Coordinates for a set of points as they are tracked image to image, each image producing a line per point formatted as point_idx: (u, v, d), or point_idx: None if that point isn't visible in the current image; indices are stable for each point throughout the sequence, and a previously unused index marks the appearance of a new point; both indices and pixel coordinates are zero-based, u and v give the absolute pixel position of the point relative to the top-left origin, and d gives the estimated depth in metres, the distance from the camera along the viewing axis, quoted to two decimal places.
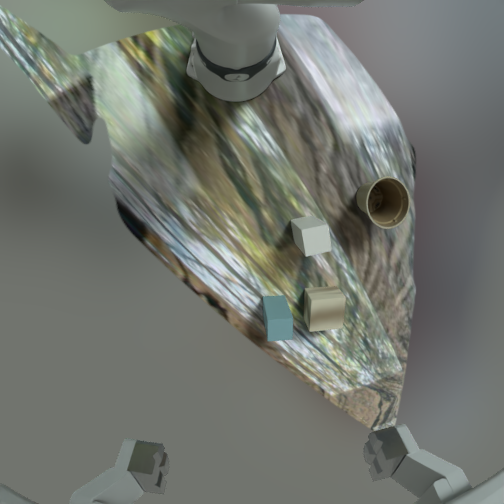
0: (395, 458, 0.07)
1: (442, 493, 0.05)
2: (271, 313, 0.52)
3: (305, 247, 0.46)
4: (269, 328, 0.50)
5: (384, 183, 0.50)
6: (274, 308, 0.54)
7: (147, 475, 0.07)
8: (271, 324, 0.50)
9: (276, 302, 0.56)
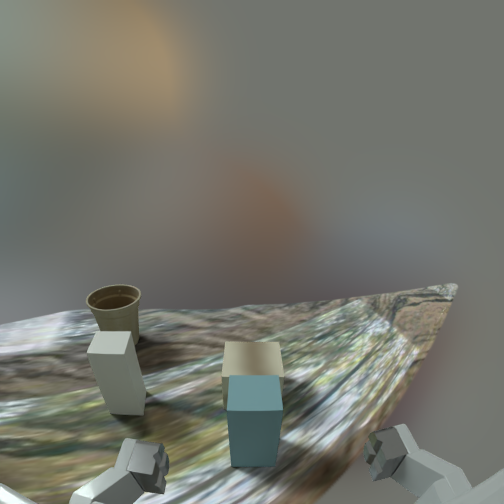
0: (395, 458, 0.07)
1: (442, 493, 0.05)
2: None
3: (111, 353, 0.26)
4: (249, 408, 0.21)
5: None
6: None
7: (147, 475, 0.07)
8: (238, 405, 0.21)
9: None
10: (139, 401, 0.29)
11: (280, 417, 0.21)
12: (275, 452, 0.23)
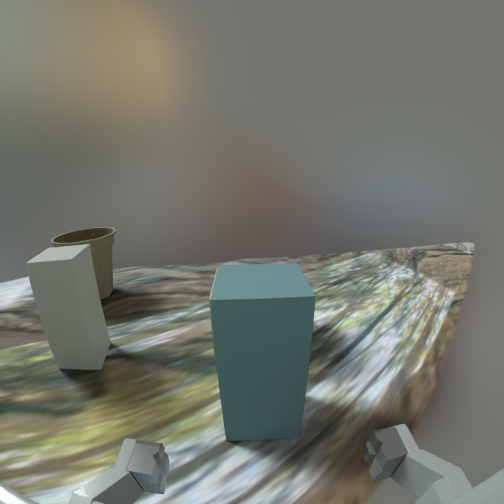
0: (395, 458, 0.07)
1: (442, 493, 0.05)
2: None
3: (55, 259, 0.18)
4: (252, 295, 0.12)
5: None
6: None
7: (147, 475, 0.07)
8: (232, 293, 0.13)
9: None
10: (94, 346, 0.20)
11: (310, 316, 0.13)
12: (300, 406, 0.14)
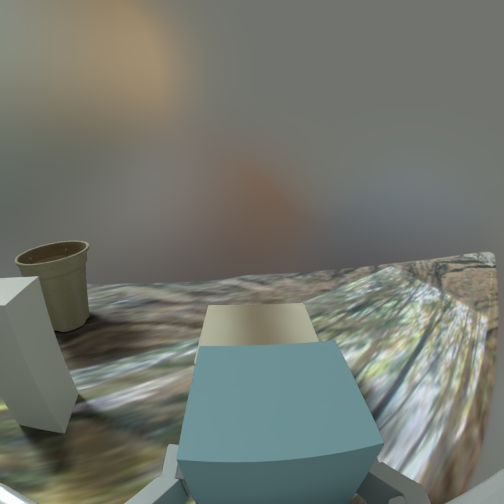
0: None
1: None
2: None
3: None
4: (261, 450, 0.05)
5: None
6: None
7: None
8: (222, 441, 0.05)
9: None
10: (52, 408, 0.13)
11: (367, 465, 0.05)
12: None
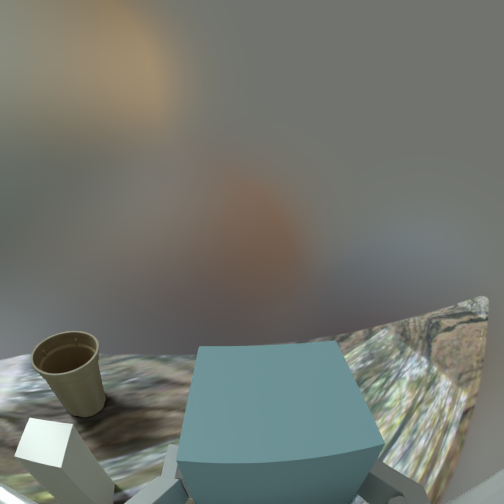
0: None
1: None
2: None
3: (44, 462, 0.11)
4: (261, 451, 0.05)
5: (60, 369, 0.29)
6: None
7: None
8: (222, 441, 0.05)
9: None
10: None
11: (368, 466, 0.05)
12: None
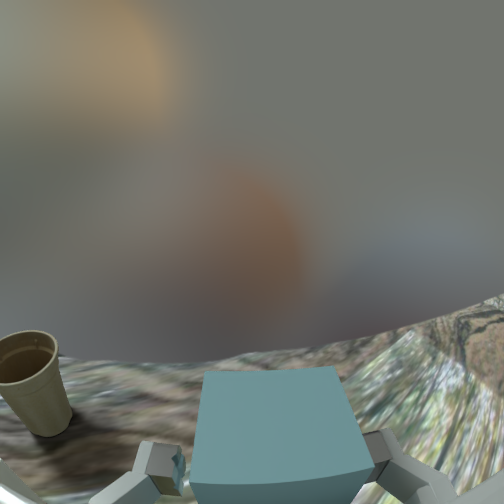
0: (378, 463, 0.07)
1: (425, 501, 0.05)
2: None
3: None
4: (265, 473, 0.05)
5: (19, 376, 0.21)
6: None
7: (166, 478, 0.07)
8: (229, 464, 0.06)
9: None
10: None
11: (359, 484, 0.05)
12: None
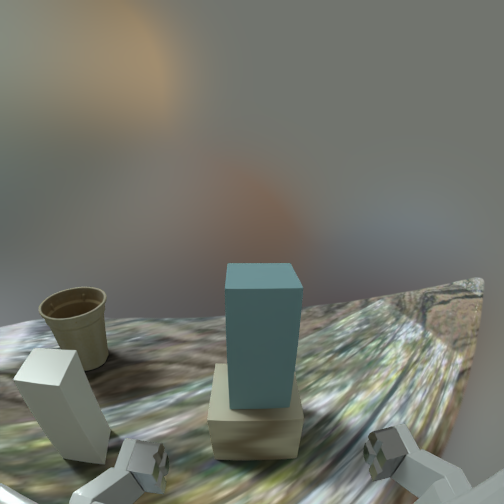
0: (395, 458, 0.07)
1: (442, 493, 0.05)
2: None
3: (43, 382, 0.14)
4: (256, 286, 0.17)
5: None
6: None
7: (147, 475, 0.07)
8: (241, 284, 0.17)
9: None
10: (95, 447, 0.17)
11: (299, 303, 0.17)
12: (291, 378, 0.19)
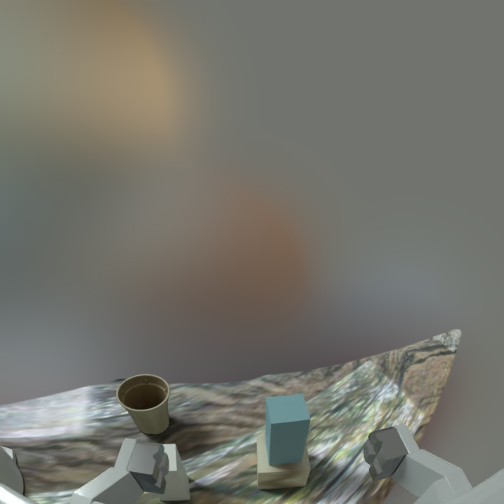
0: (395, 458, 0.07)
1: (442, 493, 0.05)
2: (269, 429, 0.29)
3: None
4: (286, 420, 0.28)
5: (133, 401, 0.43)
6: (268, 433, 0.31)
7: (147, 475, 0.07)
8: (278, 419, 0.28)
9: (267, 440, 0.32)
10: (187, 492, 0.28)
11: (308, 424, 0.28)
12: (302, 450, 0.30)
